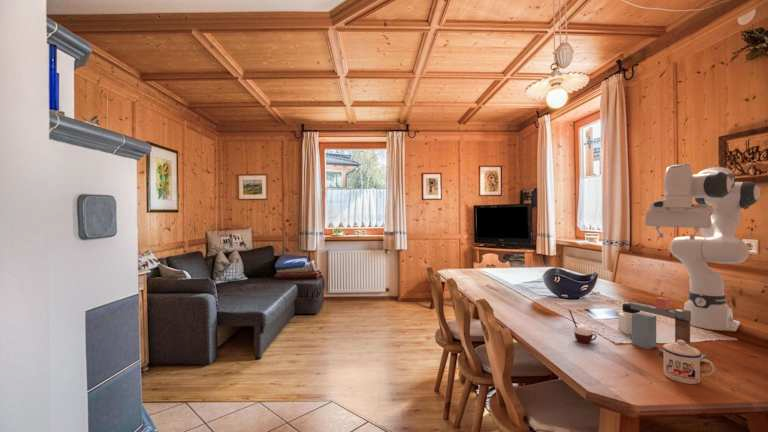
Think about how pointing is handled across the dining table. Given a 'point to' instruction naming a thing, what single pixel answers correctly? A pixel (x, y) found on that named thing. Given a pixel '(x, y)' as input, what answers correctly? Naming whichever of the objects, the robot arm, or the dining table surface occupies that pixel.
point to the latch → (663, 309)
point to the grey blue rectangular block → (644, 330)
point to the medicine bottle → (626, 318)
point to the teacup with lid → (683, 363)
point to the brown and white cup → (582, 332)
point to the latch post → (682, 335)
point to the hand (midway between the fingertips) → (676, 238)
